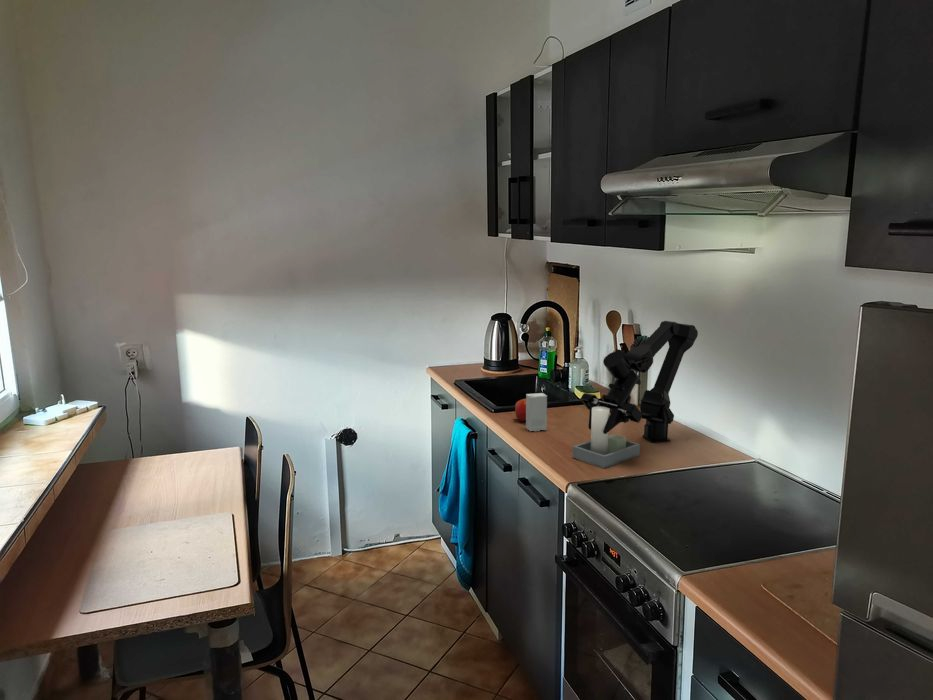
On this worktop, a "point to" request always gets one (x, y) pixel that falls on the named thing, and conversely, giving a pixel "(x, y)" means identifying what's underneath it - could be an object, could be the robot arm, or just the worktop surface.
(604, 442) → the white cylinder
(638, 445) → the tote
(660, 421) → the robot arm
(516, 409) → the apple
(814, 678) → the worktop surface
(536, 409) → the skincare box
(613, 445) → the green cube
